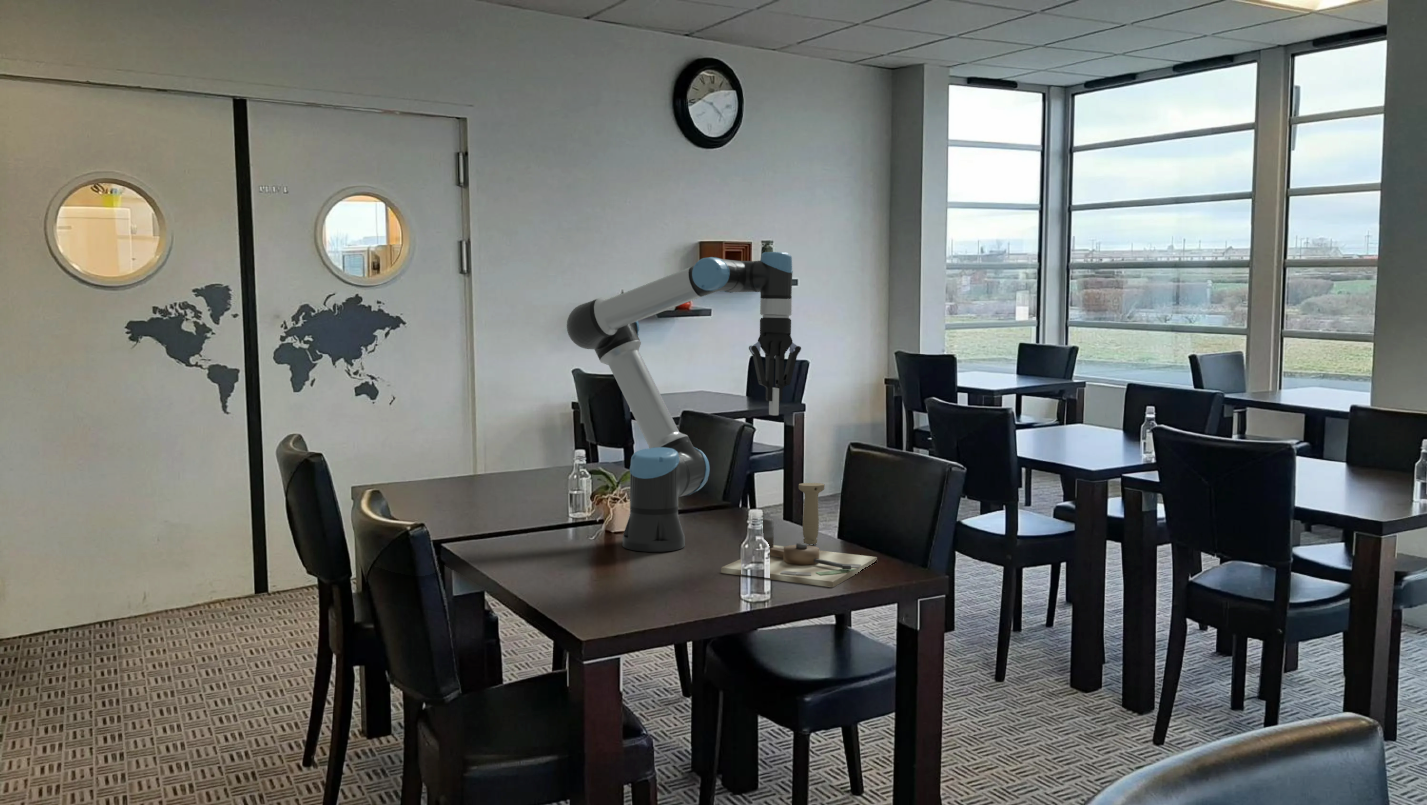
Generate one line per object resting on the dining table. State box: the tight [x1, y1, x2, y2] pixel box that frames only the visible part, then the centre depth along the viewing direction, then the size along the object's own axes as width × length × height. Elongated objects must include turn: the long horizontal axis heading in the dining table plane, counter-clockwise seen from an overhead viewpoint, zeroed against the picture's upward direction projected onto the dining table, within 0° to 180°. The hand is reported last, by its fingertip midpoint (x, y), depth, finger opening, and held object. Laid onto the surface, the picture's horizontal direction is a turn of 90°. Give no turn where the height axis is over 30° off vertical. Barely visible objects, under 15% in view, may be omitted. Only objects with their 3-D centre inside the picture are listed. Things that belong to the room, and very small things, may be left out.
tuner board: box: [720, 544, 878, 588], centre depth 249 cm, size 26×28×1 cm
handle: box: [798, 482, 825, 545], centre depth 274 cm, size 5×6×15 cm
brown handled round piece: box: [762, 518, 851, 569], centre depth 248 cm, size 25×8×8 cm, turn 47°
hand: (773, 414), depth 269 cm, fingers closed
